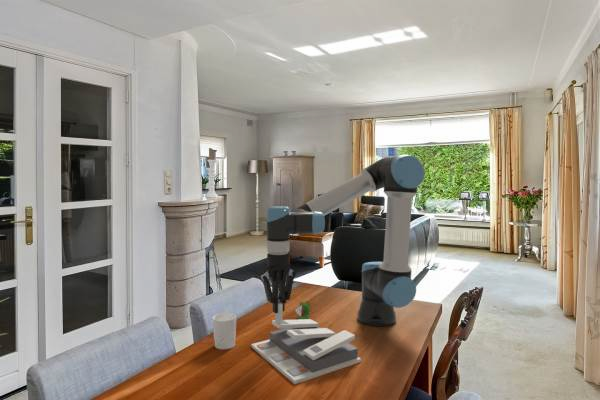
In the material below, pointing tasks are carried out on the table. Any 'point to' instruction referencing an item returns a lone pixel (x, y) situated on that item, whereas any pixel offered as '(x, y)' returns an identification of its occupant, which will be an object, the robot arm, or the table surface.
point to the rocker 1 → (295, 323)
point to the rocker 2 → (310, 333)
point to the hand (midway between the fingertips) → (278, 321)
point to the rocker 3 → (329, 344)
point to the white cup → (224, 330)
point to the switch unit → (303, 355)
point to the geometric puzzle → (303, 310)
